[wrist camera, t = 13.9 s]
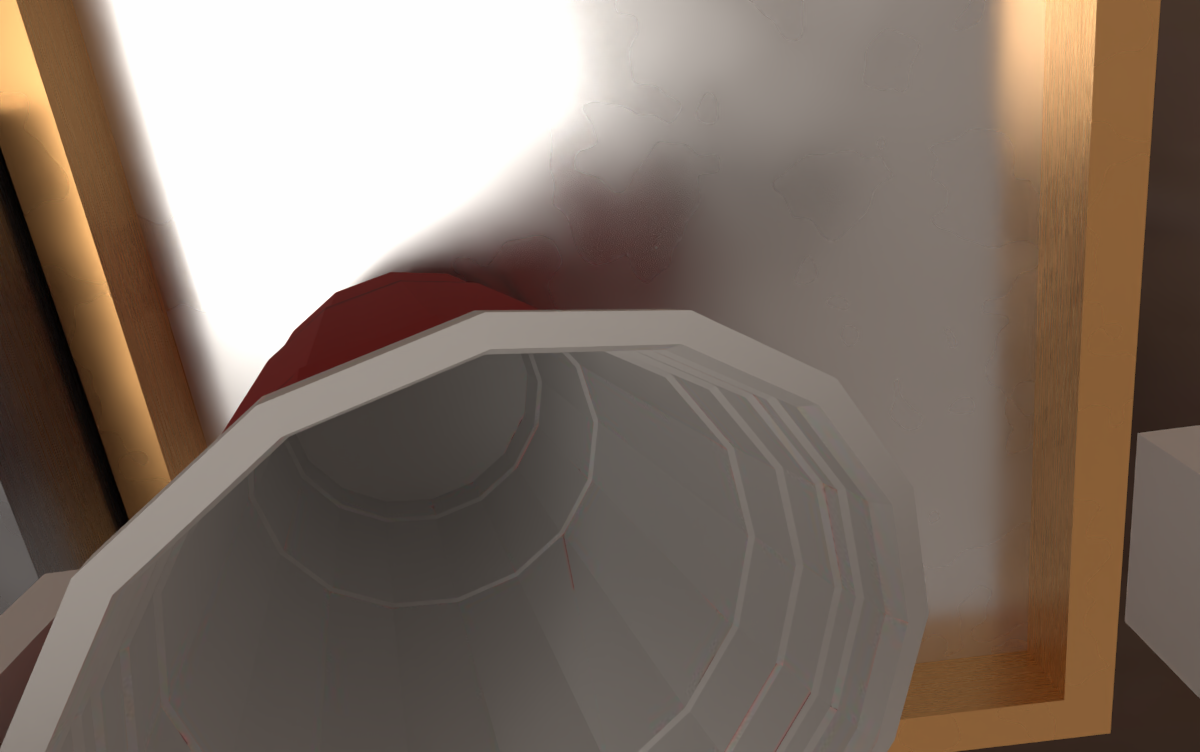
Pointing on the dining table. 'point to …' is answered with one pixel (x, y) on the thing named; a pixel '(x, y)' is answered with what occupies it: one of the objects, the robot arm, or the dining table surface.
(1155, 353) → the dining table surface
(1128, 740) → the dining table surface
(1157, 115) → the dining table surface
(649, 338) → the plastic cup
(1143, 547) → the robot arm
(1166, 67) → the dining table surface
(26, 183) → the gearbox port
